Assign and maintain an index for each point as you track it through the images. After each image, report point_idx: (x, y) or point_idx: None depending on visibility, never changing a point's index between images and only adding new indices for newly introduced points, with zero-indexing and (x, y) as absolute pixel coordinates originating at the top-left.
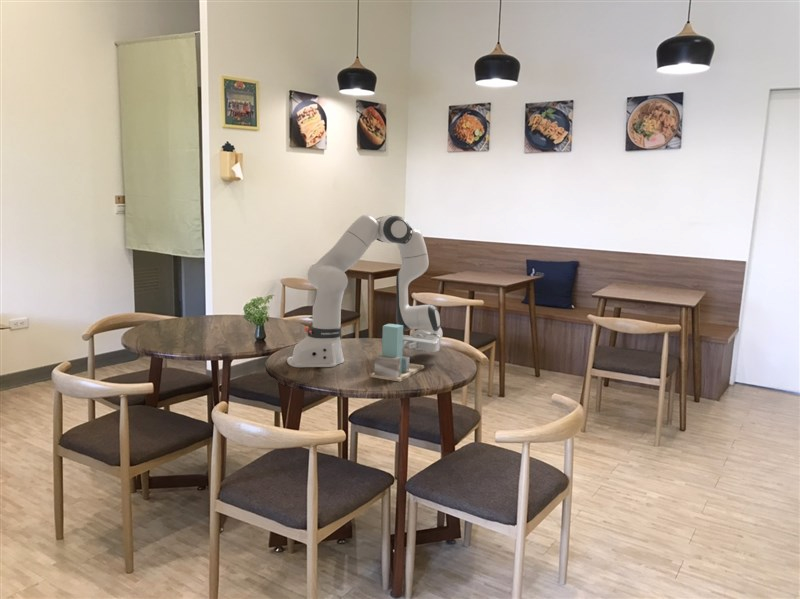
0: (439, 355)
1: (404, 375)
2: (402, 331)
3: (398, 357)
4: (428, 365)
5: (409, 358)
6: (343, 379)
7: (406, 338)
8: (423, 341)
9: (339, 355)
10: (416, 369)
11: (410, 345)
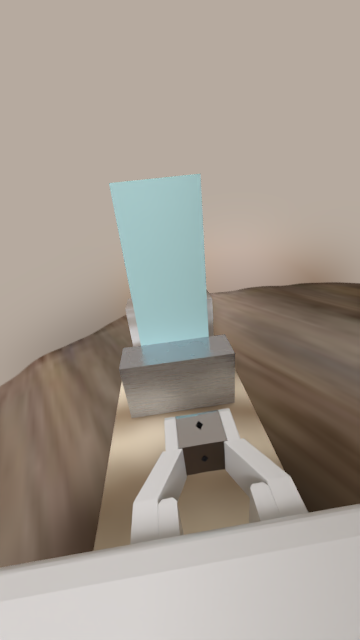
0: None
1: None
2: (117, 219)
3: (133, 308)
4: None
5: (120, 374)
6: (252, 314)
7: (334, 538)
8: (20, 570)
9: None
10: (109, 466)
11: (165, 433)
